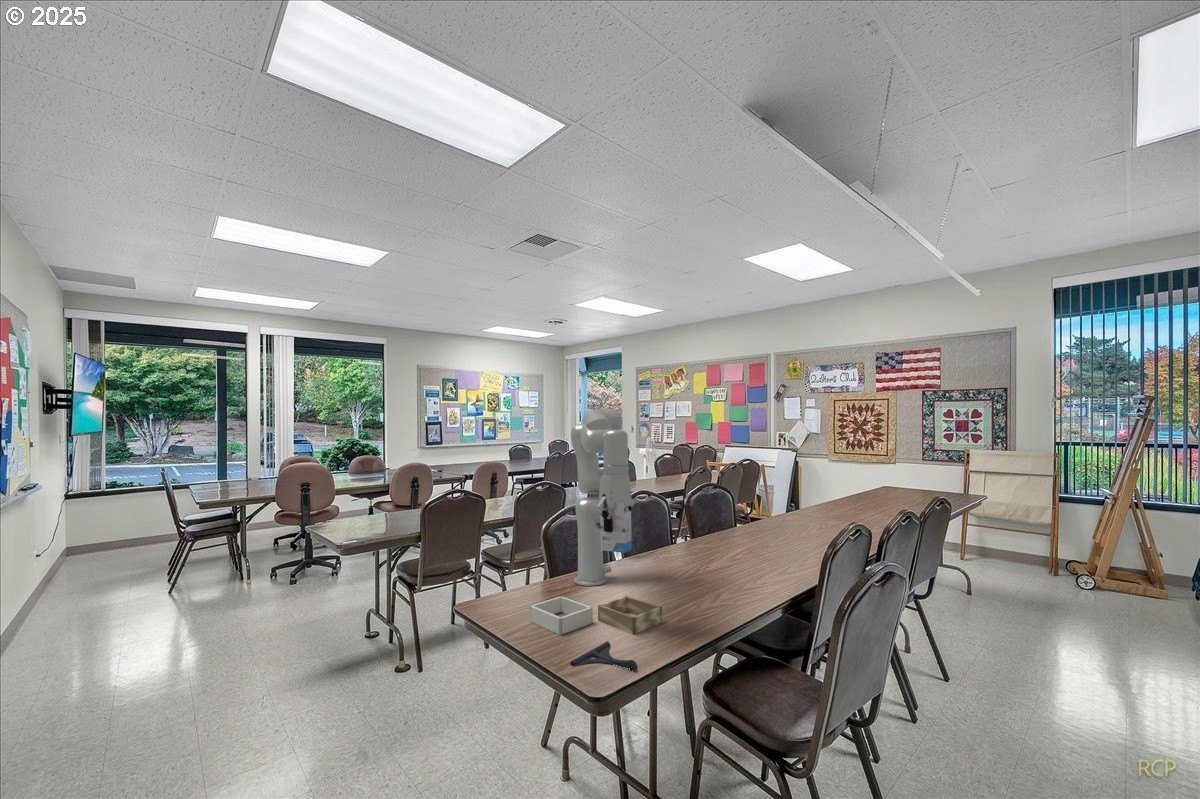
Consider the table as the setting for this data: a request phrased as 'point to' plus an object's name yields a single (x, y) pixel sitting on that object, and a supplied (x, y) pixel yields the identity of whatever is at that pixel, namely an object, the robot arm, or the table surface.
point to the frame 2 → (616, 618)
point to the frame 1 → (560, 625)
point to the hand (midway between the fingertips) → (616, 529)
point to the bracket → (602, 658)
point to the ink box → (617, 531)
